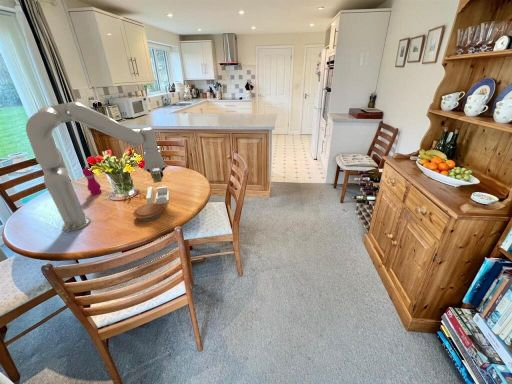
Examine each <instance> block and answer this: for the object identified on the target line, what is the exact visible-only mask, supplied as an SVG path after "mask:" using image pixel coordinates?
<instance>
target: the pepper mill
mask: <svg viewBox="0 0 512 384" xmlns="http://www.w3.org/2000/svg"><path fill="white" fill-rule="evenodd" d="M90 168H91V167H89V166H88V165H85V166H84V168H83V170H82V174H83V175H84V176H85V178H86V180H87V191H89V193H90V195H92V196H96V195H98V196H99V194H101V193H102V192H103V191H102V189H101V185H100V184H101V183H99V182H98V181H97V180H96V178H95V174H94V173H93V172H91V171H89V170H88V169H90Z"/></svg>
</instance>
